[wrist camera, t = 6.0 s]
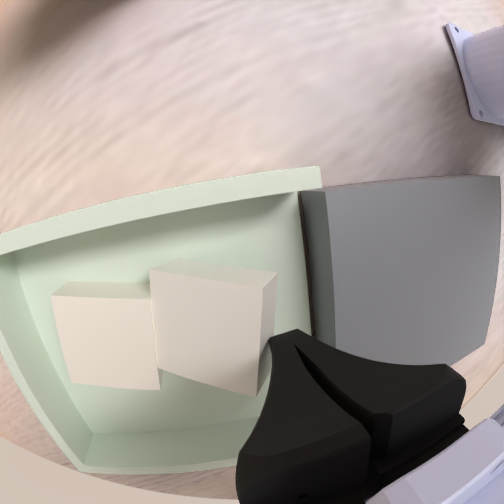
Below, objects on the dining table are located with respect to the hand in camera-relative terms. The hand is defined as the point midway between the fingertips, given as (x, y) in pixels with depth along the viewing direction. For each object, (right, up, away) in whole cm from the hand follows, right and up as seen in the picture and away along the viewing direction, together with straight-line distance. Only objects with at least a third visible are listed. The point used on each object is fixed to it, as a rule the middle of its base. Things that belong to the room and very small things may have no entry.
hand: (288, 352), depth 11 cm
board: (+8, +2, +4) cm, 10 cm away
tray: (-6, 0, +2) cm, 7 cm away
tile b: (-8, 0, -1) cm, 8 cm away
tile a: (-3, +1, +1) cm, 3 cm away
